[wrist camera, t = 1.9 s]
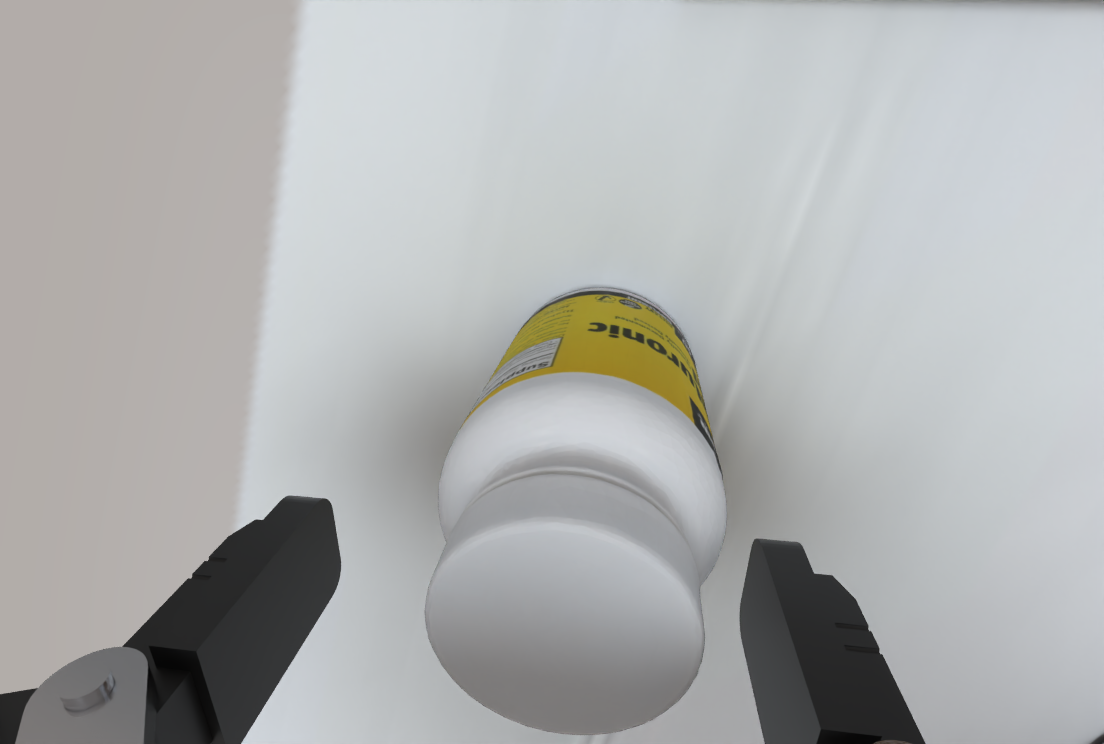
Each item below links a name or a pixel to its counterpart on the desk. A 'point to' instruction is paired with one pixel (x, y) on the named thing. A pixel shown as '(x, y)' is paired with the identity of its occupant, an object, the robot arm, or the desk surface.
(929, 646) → the desk surface
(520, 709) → the supplement bottle
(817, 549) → the desk surface
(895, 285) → the desk surface
